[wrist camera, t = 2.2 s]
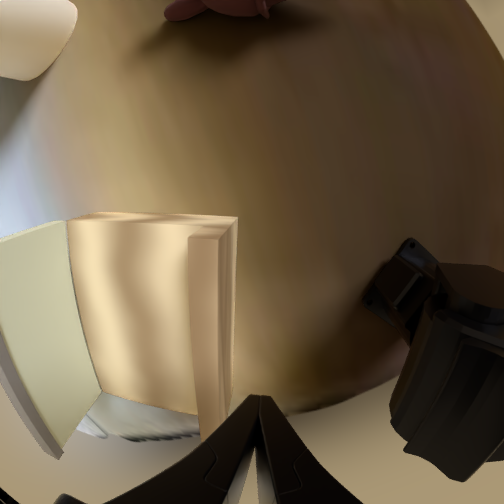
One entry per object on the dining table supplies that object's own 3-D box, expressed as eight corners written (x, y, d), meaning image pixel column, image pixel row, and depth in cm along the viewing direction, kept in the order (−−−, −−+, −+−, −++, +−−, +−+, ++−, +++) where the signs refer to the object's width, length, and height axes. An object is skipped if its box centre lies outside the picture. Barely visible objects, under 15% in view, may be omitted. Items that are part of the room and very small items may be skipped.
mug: (-3, 107, 18) (-67, 104, 8) (8, 42, 15) (-46, 28, 5) (71, 55, 17) (-6, 26, 6) (83, -12, 14) (28, -49, 4)
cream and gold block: (238, 217, 20) (218, 239, 13) (232, 389, 24) (220, 446, 17) (96, 212, 20) (38, 229, 14) (119, 368, 25) (88, 411, 18)
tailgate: (67, 218, 16) (-34, 253, 8) (104, 393, 21) (58, 460, 12) (53, 217, 17) (-44, 250, 8) (91, 389, 21) (44, 451, 12)
